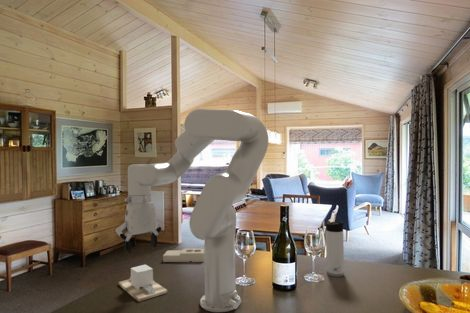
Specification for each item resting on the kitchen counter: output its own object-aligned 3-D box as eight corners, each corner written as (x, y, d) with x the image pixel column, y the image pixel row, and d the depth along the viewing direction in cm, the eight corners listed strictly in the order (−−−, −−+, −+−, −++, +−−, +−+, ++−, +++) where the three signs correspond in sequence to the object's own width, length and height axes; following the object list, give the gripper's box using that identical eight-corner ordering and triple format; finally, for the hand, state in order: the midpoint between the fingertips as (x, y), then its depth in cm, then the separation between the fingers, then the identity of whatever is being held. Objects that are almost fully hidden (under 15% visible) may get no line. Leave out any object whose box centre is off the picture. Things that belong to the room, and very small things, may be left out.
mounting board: (167, 292, 110) (167, 289, 110) (138, 301, 104) (138, 298, 104) (144, 277, 124) (144, 274, 124) (118, 284, 118) (118, 282, 118)
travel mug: (339, 278, 119) (338, 224, 119) (323, 273, 124) (322, 221, 124) (347, 274, 123) (347, 221, 123) (332, 269, 128) (331, 219, 128)
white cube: (153, 285, 113) (152, 268, 113) (138, 290, 110) (137, 272, 110) (145, 280, 118) (145, 264, 118) (130, 284, 115) (130, 267, 115)
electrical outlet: (167, 248, 149) (206, 248, 148) (167, 257, 149) (206, 257, 148) (163, 253, 142) (204, 253, 141) (163, 262, 142) (204, 262, 141)
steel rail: (155, 292, 108) (155, 289, 108) (148, 294, 107) (148, 291, 107) (136, 278, 121) (136, 275, 121) (129, 280, 119) (129, 277, 119)
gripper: (118, 203, 105) (120, 257, 105) (167, 197, 116) (168, 246, 116) (110, 201, 111) (112, 252, 111) (158, 196, 122) (159, 242, 122)
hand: (141, 248), depth 114 cm, fingers open, 8 cm apart
